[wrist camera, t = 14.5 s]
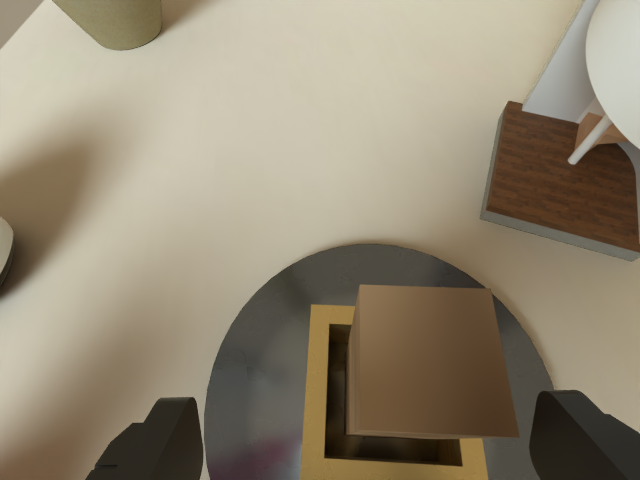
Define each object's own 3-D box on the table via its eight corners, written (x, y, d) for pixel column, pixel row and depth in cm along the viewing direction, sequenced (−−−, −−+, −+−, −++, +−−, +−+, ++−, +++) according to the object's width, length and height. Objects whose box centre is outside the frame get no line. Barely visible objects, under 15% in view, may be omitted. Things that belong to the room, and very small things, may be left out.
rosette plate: (172, 615, 17) (117, 677, 13) (239, 247, 27) (221, 208, 22) (604, 650, 16) (709, 730, 12) (512, 256, 26) (550, 217, 22)
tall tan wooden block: (344, 435, 20) (361, 429, 9) (344, 360, 22) (359, 284, 11) (417, 439, 20) (520, 437, 9) (412, 362, 22) (490, 288, 11)
